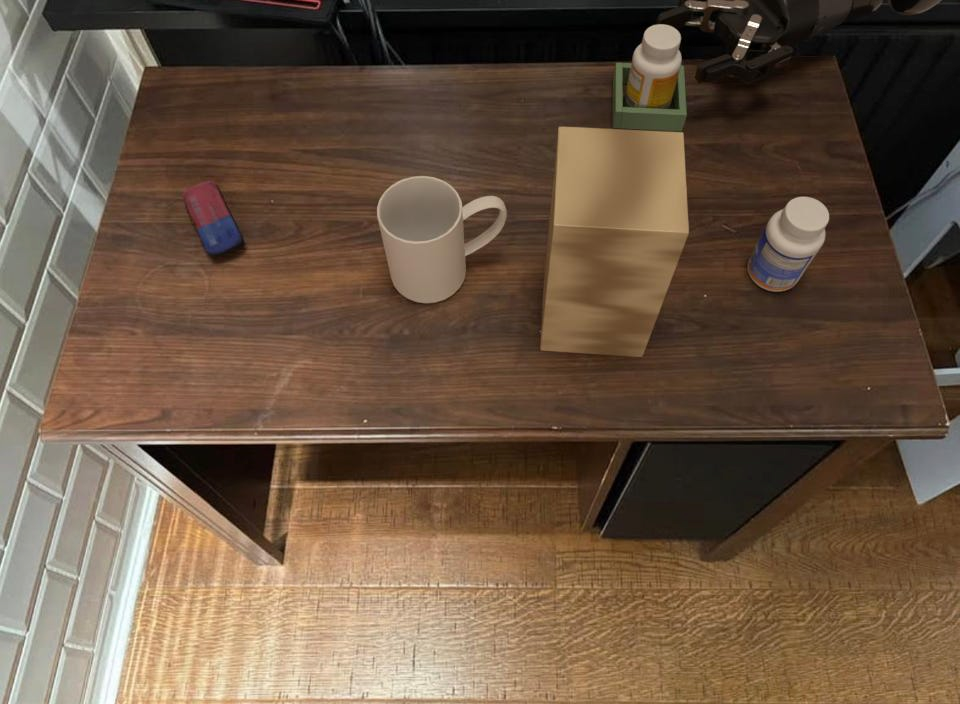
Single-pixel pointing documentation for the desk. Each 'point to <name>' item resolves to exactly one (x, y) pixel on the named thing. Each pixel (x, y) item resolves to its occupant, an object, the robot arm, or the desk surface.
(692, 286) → the desk surface
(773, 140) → the desk surface
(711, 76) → the robot arm
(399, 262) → the mug
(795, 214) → the pill bottle
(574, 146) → the block
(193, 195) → the eraser
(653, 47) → the supplement bottle
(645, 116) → the bottle holder
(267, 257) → the desk surface
